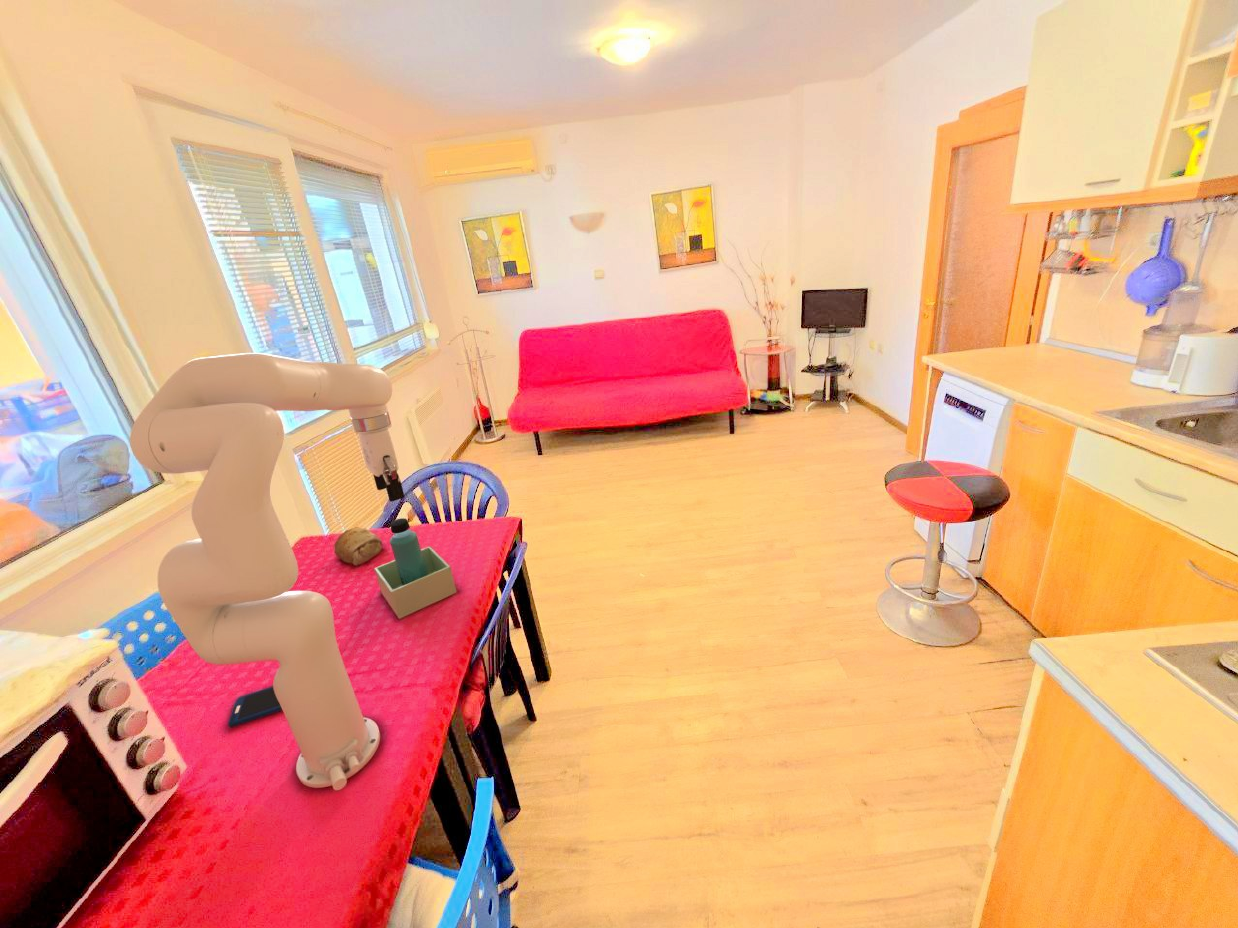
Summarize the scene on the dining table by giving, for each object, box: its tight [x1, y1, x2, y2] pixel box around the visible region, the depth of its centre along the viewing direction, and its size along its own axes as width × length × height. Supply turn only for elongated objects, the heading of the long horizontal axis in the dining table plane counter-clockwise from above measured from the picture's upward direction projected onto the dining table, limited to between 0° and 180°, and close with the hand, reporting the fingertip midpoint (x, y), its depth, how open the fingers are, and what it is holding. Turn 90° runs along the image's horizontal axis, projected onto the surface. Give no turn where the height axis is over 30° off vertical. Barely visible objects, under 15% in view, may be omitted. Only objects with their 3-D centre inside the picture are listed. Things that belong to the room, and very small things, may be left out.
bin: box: [374, 546, 457, 620], centre depth 126 cm, size 14×14×8 cm
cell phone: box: [227, 685, 283, 728], centre depth 97 cm, size 7×14×1 cm, turn 114°
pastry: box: [333, 526, 383, 567], centre depth 147 cm, size 14×12×8 cm
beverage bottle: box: [389, 517, 429, 585], centre depth 123 cm, size 6×7×20 cm
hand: (390, 493), depth 116 cm, fingers open, 9 cm apart
